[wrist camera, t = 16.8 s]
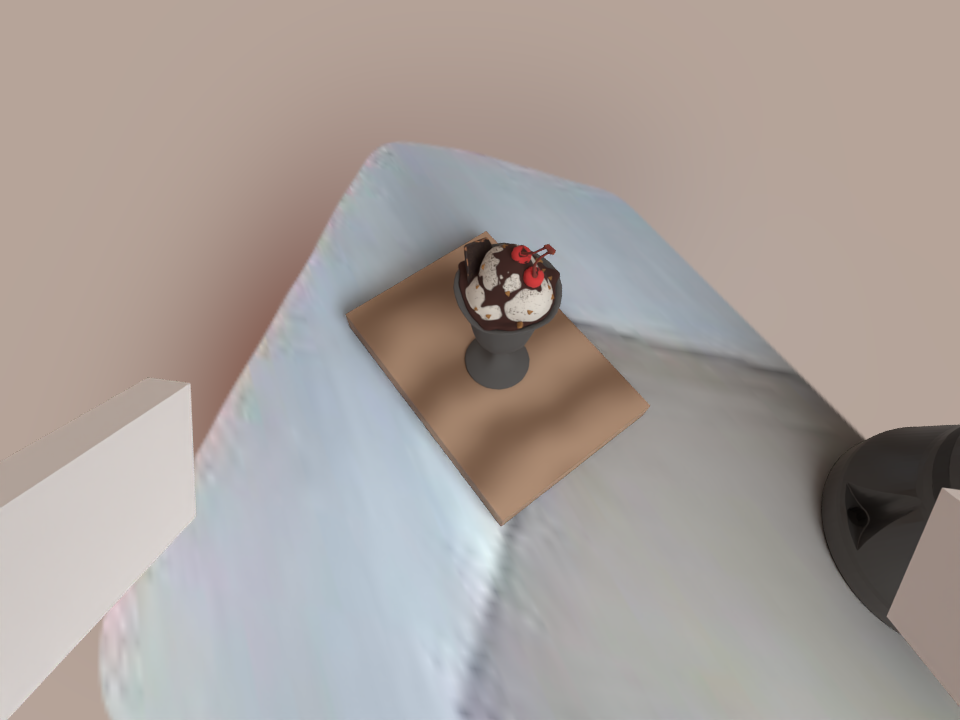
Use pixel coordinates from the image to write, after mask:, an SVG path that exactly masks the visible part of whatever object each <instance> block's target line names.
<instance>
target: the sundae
mask: <svg viewBox="0 0 960 720" xmlns="http://www.w3.org/2000/svg"><path fill="white" fill-rule="evenodd" d="M544 249H547V251H548V252H546V253H545V254H543V255H542V256H540V255H538V254H536V253H537V252H539V251H542V250H544ZM555 251H556V250H555V249H554V248H553V247H551V246H550V245H549V244H547V245H544V247H543V248H541V249H539V250H537V251H535V252H533V251H531V250H530V249H529V248H528V247H526V246H524V245H520V246H519V245H517V244H509V243H497V244H491V242H490V241H489V239H488V238H487V237H485V238H482V239H479V240H476V241H473V242H472V243H468V244H466V245H465V246H464V256H465V260H464V261H462V262H460V263H459V264H458V268H459V269H458V271H457V272H456V274H455V278H454V285H453V289H454V294H455V298H456V301H457V304H458V307H459V308H460V310H461V312H462V313H463V315H464V316H465V317H466V319H467V320H468V322H469V323H470V324H471V327H472V330H473V333H474V335H475V339H474V340H473V341H472V342H471V343H470V345H469V346H468V348H467V350H466V354H465V365H466V368H467V371H468V373H469V374H470V376H471V377H472V378H473V379H474V381H475V382H477V383H479V384H480V385H482V386H484V387H486V388H490V389H498V390H500V389H506V388H510V387H512V386H514V385H516V384H517V383H519V382H520V381H521V380H522V379H523V378H524V377H525V375H526V373H527V371H528V368H529V360H530V359H529V355H528V352H527V349H526V347H525V346H524V345H525V344H526V343H527V341H528V340H529V338H530V337H531V335H532V334H533V332H534V330H535V329H538V328H540V327H542V326H544V325H546V324H548V323H549V322H550V321H551V320H552V319H553V318H554V317H555V315H556V313H557V312H558V309H559V307H560V304H561V297H562V284H561V281H560V273H559V272H558V271H557V270H556V269H555V268H554V267H553V265H552V264H551V263H550V262H549V261H547V260H546V259H545V258H544V256H546V255H547V254H552V255H554V253H555Z"/></svg>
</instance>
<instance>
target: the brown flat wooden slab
mask: <svg viewBox="0 0 960 720" xmlns="http://www.w3.org/2000/svg"><path fill="white" fill-rule="evenodd" d="M485 237H487V238H488V239H489V241H490V242H491V244H497V242H496V241H495V240H494V239H493V238H492V237H491V236H490V235H489V233H488V232H487V231H486V232H484V233H482V234H481V235H479V236H477V237H476V238H474V239H472V240H470V241H469V242H467V243H465V244H464V245H462V246H460V247H459V248H457V249H455V250H454V251H452V252H450V253H448V254H447V255H445V256H443V257H442V258H440V259H438V260H437V261H435V262H433V263H432V264H430V265H428V266H426V267H425V268H423V269H421V270H420V271H418V272H416V273H415V274H413V275H411V276H410V277H408V278H406V279H404V280H403V281H401V282H399V283H398V284H396V285H394V286H393V287H391V288H389V289H388V290H386V291H384V292H383V293H381V294H379V295H377V296H376V297H374V298H372V299H371V300H369V301H367V302H366V303H364V304H362V305H361V306H359V307H357V308H355V309H354V310H352V311H350V312H349V313H347V314H346V317H347V320H348V323H349V326H350V328H351V329H352V330H353V332H354V333H355V334H356V336H357V337H358V338H359V340H360V341H361V342H362V344H363V345H364V346H365V348H366V349H367V350H368V352H369V353H370V354H371V356H372V357H373V358H374V359H375V361H376V362H377V363H378V365H379V366H380V367H381V369H382V370H383V371H384V373H385V374H386V375H387V377H388V378H389V379H390V381H391V382H392V383H393V385H394V386H395V387H396V389H397V390H398V391H399V393H400V394H401V395H402V396H403V398H404V399H405V400H406V402H407V403H408V404H409V406H410V407H411V408H412V410H413V411H414V412H415V414H416V415H417V416H418V418H419V419H420V420H421V422H422V423H423V424H424V426H425V427H426V428H427V429H428V431H429V432H430V433H431V435H432V436H433V437H434V439H435V440H436V441H437V443H438V444H439V445H440V447H441V448H442V449H443V451H444V452H445V453H446V455H447V456H448V457H449V459H450V460H451V461H452V463H453V464H454V465H455V466H456V468H457V469H458V470H459V472H460V473H461V474H462V476H463V477H464V478H465V480H466V481H467V482H468V484H469V485H470V486H471V488H472V489H473V490H474V492H475V493H476V494H477V496H478V497H479V498H480V499H481V501H482V502H483V503H484V505H485V506H486V507H487V509H488V510H489V511H490V513H491V514H492V515H493V517H494V518H495V519H496V521H497V522H498V523H499V525H500V526H503V525H504V524H505V523H506V522H508V521H509V520H510V519H511V518H513V517H514V516H515V515H517V514H518V513H519V512H520V511H522V510H523V509H524V508H525V507H527V506H528V505H529V504H531V503H532V502H533V501H534V500H536V499H537V498H538V497H539V496H541V495H542V494H543V493H545V492H546V491H547V490H548V489H550V488H551V487H552V486H553V485H555V484H556V483H557V482H558V481H560V480H561V479H562V478H564V477H565V476H566V475H567V474H569V473H570V472H571V471H572V470H574V469H575V468H576V467H578V466H579V465H580V464H581V463H583V462H584V461H585V460H586V459H588V458H589V457H590V456H592V455H593V454H594V453H595V452H597V451H598V450H599V449H600V448H602V447H603V446H604V445H606V444H607V443H608V442H609V441H611V440H612V439H613V438H614V437H616V436H617V435H618V434H620V433H621V432H622V431H623V430H625V429H626V428H627V427H628V426H630V425H631V424H632V423H634V422H635V421H636V420H637V419H639V418H640V417H641V416H642V415H643V414H644V413H645V412H646V411H647V409H648V408H649V407H650V405H649V404H648V403H647V402H646V401H645V400H644V399H643V397H642V396H641V395H640V394H639V393H638V392H637V391H636V390H635V389H634V388H633V387H632V386H631V385H630V384H629V383H628V382H627V380H626V379H625V378H624V377H623V376H622V375H621V374H620V373H619V372H618V371H617V370H616V369H615V368H614V367H613V366H612V364H611V363H610V362H609V361H608V360H607V359H606V358H605V357H604V356H603V355H602V354H601V353H600V352H599V351H598V350H597V349H596V347H595V346H594V345H593V344H592V343H591V342H590V341H589V340H588V339H587V338H586V337H585V336H584V335H583V334H582V333H581V331H580V330H579V329H578V328H577V327H576V326H575V325H574V324H573V323H572V322H571V321H570V320H569V319H568V318H567V317H566V315H565V314H564V313H563V312H562V311H561V310H560V309H558V312H557V313H556V315H555V317H554V318H553V319H552V320H551V321H550V322H549V323H548V324H546V325H544V326H542V327H540V328H538V329H535V330H534V332H533V334H532V335H531V337H530V338H529V340H528V341H527V343H526V344H525V345H524V346H525V347H526V349H527V352H528V355H529V359H530V360H529V368H528V371H527V373H526V375H525V377H524V378H523V379H522V380H521V381H520V382H519V383H517V384H516V385H514V386H512V387H510V388H506V389H500V390H498V389H490V388H486V387H484V386H482V385H480V384H479V383H477V382H475V381H474V379H473V378H472V377H471V376H470V374H469V373H468V371H467V368H466V365H465V354H466V350H467V348H468V346H469V345H470V343H471V342H472V341H473V340H474V339H475V335H474V333H473V330H472V327H471V324H470V323H469V322H468V320H467V319H466V317H465V316H464V315H463V313H462V312H461V310H460V308H459V307H458V304H457V301H456V298H455V294H454V289H453V285H454V278H455V274H456V272H457V271H458V269H459V268H458V264H459V263H460V262H462V261H464V260H465V256H464V246H465V245H466V244H468V243H472V242H473V241H476V240H479V239H482V238H485Z"/></svg>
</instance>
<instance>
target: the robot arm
mask: <svg viewBox="0 0 960 720" xmlns="http://www.w3.org/2000/svg"><path fill="white" fill-rule="evenodd" d="M195 517H196V502H195V479H194V456H193V433H192V411H191V387H190V383H186V382H178V381H171V380H164V379H157V378H150V377H148V378H146V379H144V380H142V381H141V382H139V383H137V384H135V385H133V386H132V387H130V388H128V389H126V390H125V391H123V392H121V393H119V394H118V395H116V396H115V397H112V398H111V399H109V400H107V401H106V402H104V403H102V404H100V405H98V406H97V407H95V408H93V409H91V410H89V411H88V412H86V413H84V414H82V415H81V416H79V417H77V418H75V419H74V420H72V421H70V422H68V423H67V424H65V425H63V426H61V427H60V428H58V429H56V430H54V431H52V432H51V433H49V434H47V435H45V436H44V437H42V438H40V439H38V440H37V441H35V442H33V443H32V444H30V445H28V446H26V447H24V448H23V449H21V450H19V451H17V452H15V453H14V454H12V455H10V456H8V457H7V458H5V459H3V460H1V461H0V720H8V719H9V717H10V716H11V715H12V714H13V713H14V712H15V711H16V710H17V709H18V708H19V707H20V706H21V705H22V703H23V702H24V701H25V700H26V699H27V698H28V697H29V696H30V695H31V694H32V692H33V691H35V689H36V688H37V687H38V686H39V685H40V684H41V683H42V682H43V681H44V680H45V679H46V678H47V676H48V675H49V674H50V673H51V672H52V671H53V670H54V669H55V668H56V667H57V666H58V665H59V664H60V662H61V661H62V660H63V659H64V658H65V657H66V656H67V655H68V654H69V653H70V652H71V651H72V650H73V648H74V647H75V646H76V645H77V644H78V643H79V642H80V641H81V640H82V639H83V638H84V637H85V636H86V634H87V633H88V632H89V631H90V630H91V629H92V628H93V627H94V626H95V625H96V624H97V622H99V620H100V619H101V618H102V617H103V616H104V615H105V614H106V613H107V612H108V611H109V610H110V609H111V608H112V606H113V605H114V604H115V603H116V602H117V601H118V600H119V599H120V598H121V597H122V596H123V595H124V594H125V592H126V591H127V590H128V589H129V588H130V587H131V586H132V585H133V584H134V583H135V582H136V581H137V580H138V578H139V577H140V576H141V575H142V574H143V573H144V572H145V571H146V570H147V569H148V568H149V567H150V565H151V564H152V563H153V562H154V561H155V560H156V559H157V558H158V557H159V556H160V555H161V554H162V553H163V551H164V550H165V549H166V548H167V547H168V546H169V545H170V544H171V543H172V542H173V541H174V540H175V539H176V537H177V536H178V535H179V534H180V533H181V532H182V531H183V530H184V529H185V528H186V527H187V526H188V525H189V523H190V522H191V521H192V520H193V519H194V518H195ZM822 520H823V527H824V532H825V536H826V540H827V543H828V546H829V549H830V552H831V554H832V557H833V559H834V561H835V563H836V565H837V567H838V569H839V571H840V572H841V574H842V576H843V577H844V579H845V581H846V582H847V584H848V585H849V586H850V588H851V589H852V591H853V592H854V593H855V594H856V596H857V597H858V598H859V599H860V600H861V601H862V602H863V604H864V605H865V606H866V607H867V608H868V609H869V610H870V611H871V612H872V613H873V614H874V615H876V616H877V617H878V618H879V619H880V620H881V621H883V622H884V623H885V624H887V625H888V626H889V627H891V628H892V629H893V630H895V631H896V632H898V633H900V634H901V635H902V636H903V637H904V639H905V640H906V641H907V642H908V644H909V645H910V646H911V647H912V649H913V650H914V651H915V652H916V653H917V655H918V656H919V657H920V658H921V660H922V661H923V662H924V663H925V665H926V666H927V667H928V668H929V670H930V671H931V672H932V673H933V675H934V676H935V677H936V678H937V680H938V681H939V682H940V683H941V684H942V686H943V687H944V688H945V689H946V691H947V692H948V693H949V694H950V696H951V697H952V698H953V699H954V701H955V702H956V703H957V704H958V706H959V707H960V425H942V426H923V427H905V428H897V429H893V430H889V431H885V432H883V433H880V434H878V435H875V436H873V437H871V438H869V439H867V440H865V441H863V442H861V443H859V444H857V445H855V446H854V447H852V448H851V449H849V450H848V451H847V452H846V453H844V454H843V455H842V456H841V457H840V458H839V459H838V461H837V462H836V463H835V465H834V466H833V468H832V469H831V471H830V473H829V475H828V478H827V481H826V484H825V487H824V492H823V498H822Z"/></svg>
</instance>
